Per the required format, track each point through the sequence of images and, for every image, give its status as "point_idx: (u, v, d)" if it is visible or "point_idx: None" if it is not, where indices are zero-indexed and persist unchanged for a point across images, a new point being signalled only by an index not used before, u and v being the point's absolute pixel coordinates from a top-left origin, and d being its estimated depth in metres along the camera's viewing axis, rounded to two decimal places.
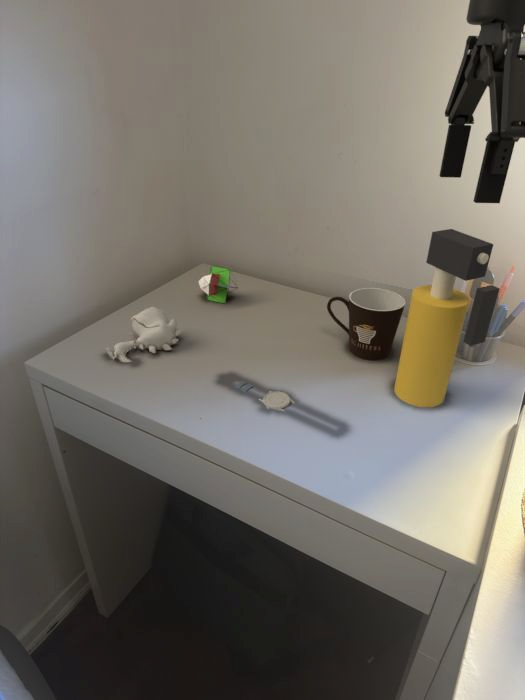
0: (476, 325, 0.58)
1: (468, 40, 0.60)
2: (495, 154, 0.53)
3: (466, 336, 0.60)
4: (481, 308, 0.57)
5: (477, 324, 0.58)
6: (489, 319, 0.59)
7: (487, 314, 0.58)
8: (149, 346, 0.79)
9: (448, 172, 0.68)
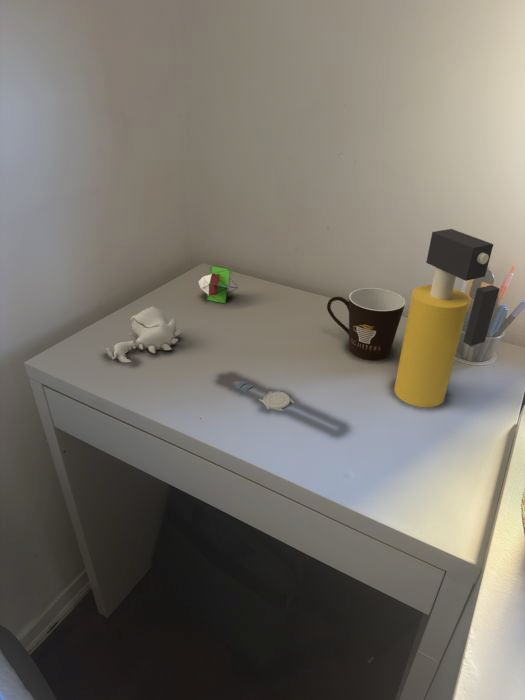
0: (476, 325, 0.58)
1: None
2: None
3: (466, 336, 0.60)
4: (481, 308, 0.57)
5: (477, 324, 0.58)
6: (489, 319, 0.59)
7: (487, 314, 0.58)
8: (149, 346, 0.79)
9: None
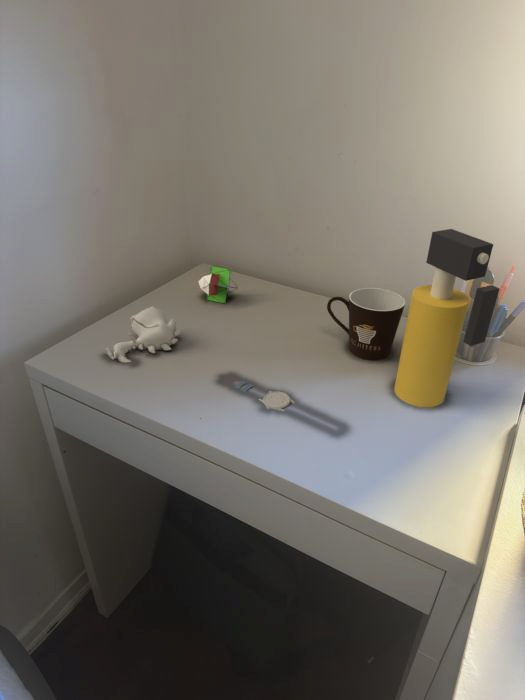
0: (476, 325, 0.58)
1: None
2: None
3: (466, 336, 0.60)
4: (481, 308, 0.57)
5: (477, 324, 0.58)
6: (489, 319, 0.59)
7: (487, 314, 0.58)
8: (148, 346, 0.79)
9: None
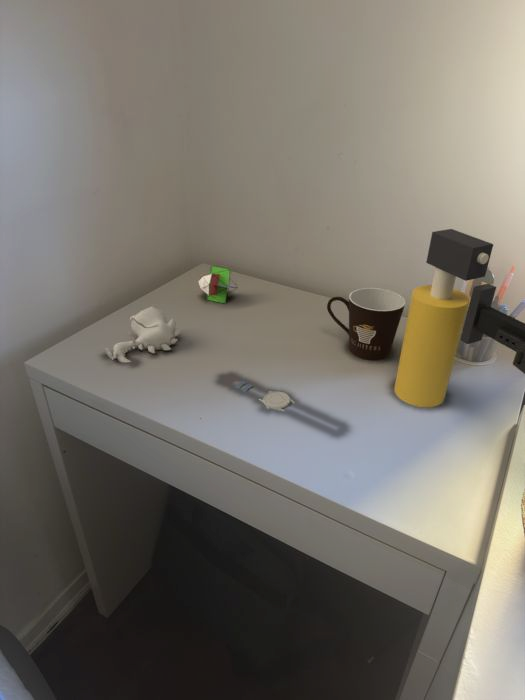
0: (473, 323, 0.59)
1: None
2: None
3: (463, 334, 0.60)
4: (478, 306, 0.58)
5: (474, 322, 0.59)
6: None
7: None
8: (148, 346, 0.79)
9: None
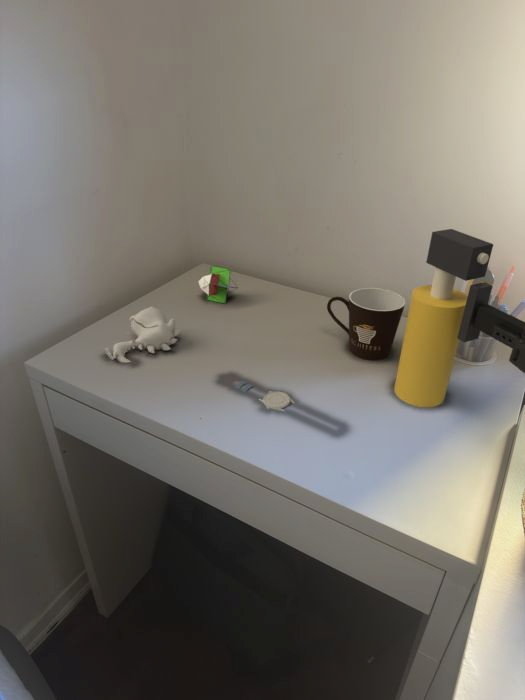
0: (470, 322, 0.59)
1: None
2: None
3: (460, 332, 0.61)
4: (474, 305, 0.58)
5: (471, 320, 0.59)
6: None
7: None
8: (148, 346, 0.79)
9: None
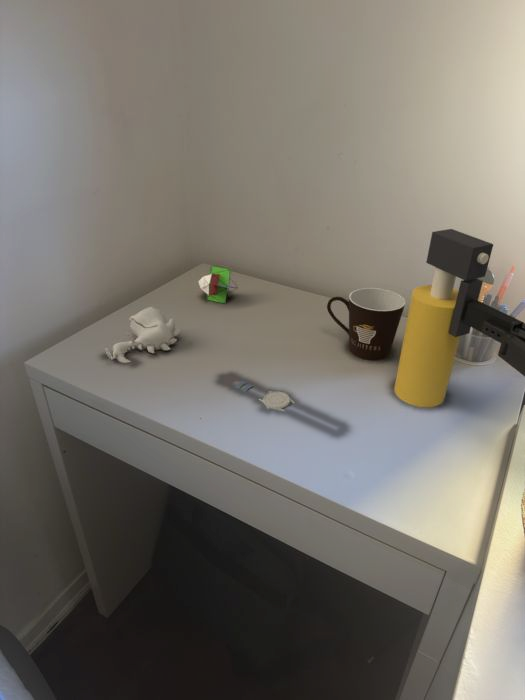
0: (460, 317, 0.60)
1: None
2: None
3: (451, 327, 0.62)
4: (465, 300, 0.59)
5: (461, 315, 0.60)
6: None
7: None
8: (148, 346, 0.79)
9: None
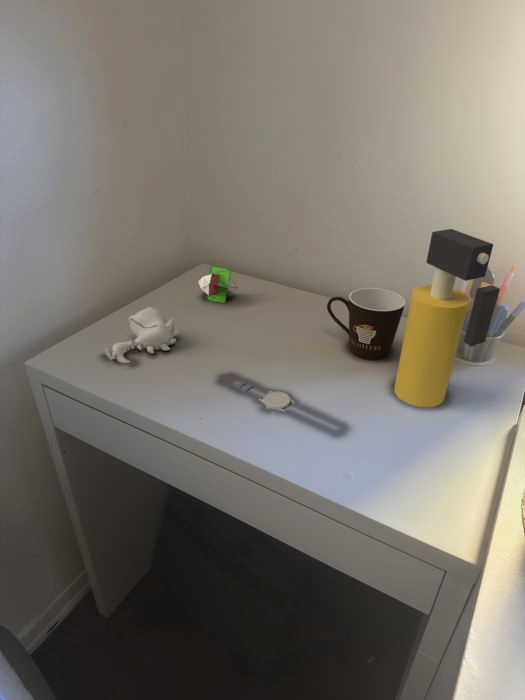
0: (476, 325, 0.58)
1: None
2: None
3: (466, 336, 0.60)
4: (481, 308, 0.57)
5: (477, 324, 0.58)
6: (489, 319, 0.59)
7: (488, 314, 0.58)
8: (147, 346, 0.79)
9: None
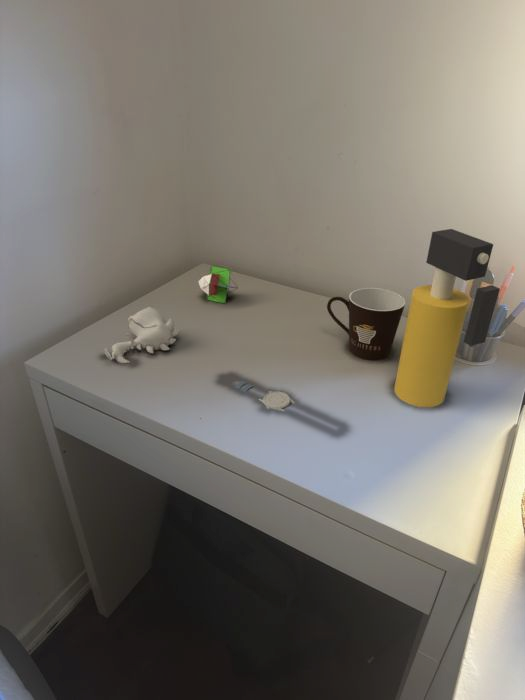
0: (476, 325, 0.58)
1: None
2: None
3: (466, 336, 0.60)
4: (481, 308, 0.57)
5: (477, 324, 0.58)
6: (489, 319, 0.59)
7: (488, 314, 0.58)
8: (147, 346, 0.79)
9: None
